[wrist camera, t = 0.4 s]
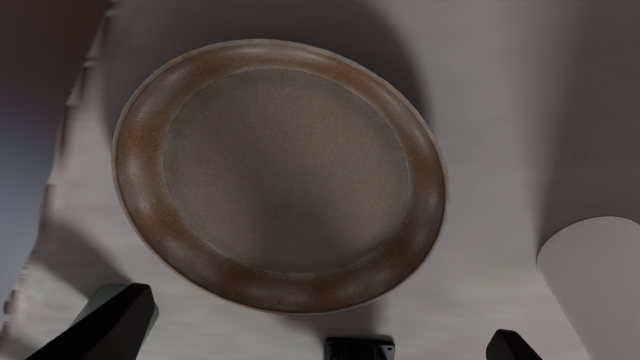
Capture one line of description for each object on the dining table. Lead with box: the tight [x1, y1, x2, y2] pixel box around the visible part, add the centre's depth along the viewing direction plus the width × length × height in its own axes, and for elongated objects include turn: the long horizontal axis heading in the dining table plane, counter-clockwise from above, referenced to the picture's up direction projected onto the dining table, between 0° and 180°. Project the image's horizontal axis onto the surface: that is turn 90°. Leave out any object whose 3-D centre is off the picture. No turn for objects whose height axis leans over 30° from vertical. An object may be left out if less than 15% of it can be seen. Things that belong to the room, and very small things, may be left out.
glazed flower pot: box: [46, 284, 159, 353], centre depth 30 cm, size 7×7×7 cm
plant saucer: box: [111, 39, 450, 316], centre depth 23 cm, size 21×21×3 cm
